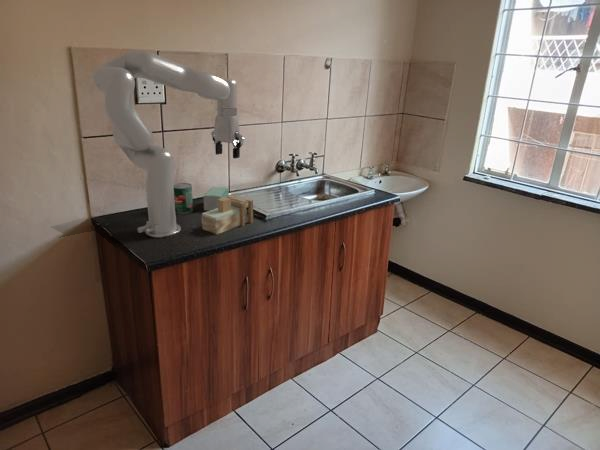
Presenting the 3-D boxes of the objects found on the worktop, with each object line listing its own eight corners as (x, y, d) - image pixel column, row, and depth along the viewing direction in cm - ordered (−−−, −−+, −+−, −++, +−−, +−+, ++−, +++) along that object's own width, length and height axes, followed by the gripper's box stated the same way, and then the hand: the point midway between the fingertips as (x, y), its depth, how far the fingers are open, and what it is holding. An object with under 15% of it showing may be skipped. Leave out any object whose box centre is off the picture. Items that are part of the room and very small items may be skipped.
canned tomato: (195, 207, 192) (193, 183, 188) (190, 214, 185) (189, 188, 181) (176, 207, 192) (175, 182, 188) (171, 213, 185) (169, 187, 181)
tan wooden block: (244, 208, 171) (244, 201, 170) (227, 203, 176) (227, 196, 175) (248, 207, 173) (248, 199, 172) (231, 202, 178) (231, 194, 177)
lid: (216, 220, 162) (215, 206, 160) (202, 215, 166) (201, 201, 164) (246, 210, 174) (246, 196, 172) (232, 205, 178) (232, 192, 176)
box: (228, 203, 200) (228, 187, 197) (221, 213, 187) (220, 196, 184) (212, 202, 200) (212, 186, 197) (203, 212, 188) (202, 195, 185)
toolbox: (219, 237, 163) (218, 211, 159) (199, 229, 169) (198, 204, 165) (253, 224, 177) (252, 200, 173) (233, 217, 182) (233, 194, 179)
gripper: (204, 110, 175) (205, 153, 181) (236, 115, 165) (236, 160, 171) (218, 109, 180) (219, 151, 186) (250, 114, 171) (249, 158, 177)
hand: (227, 156), depth 179 cm, fingers open, 9 cm apart
